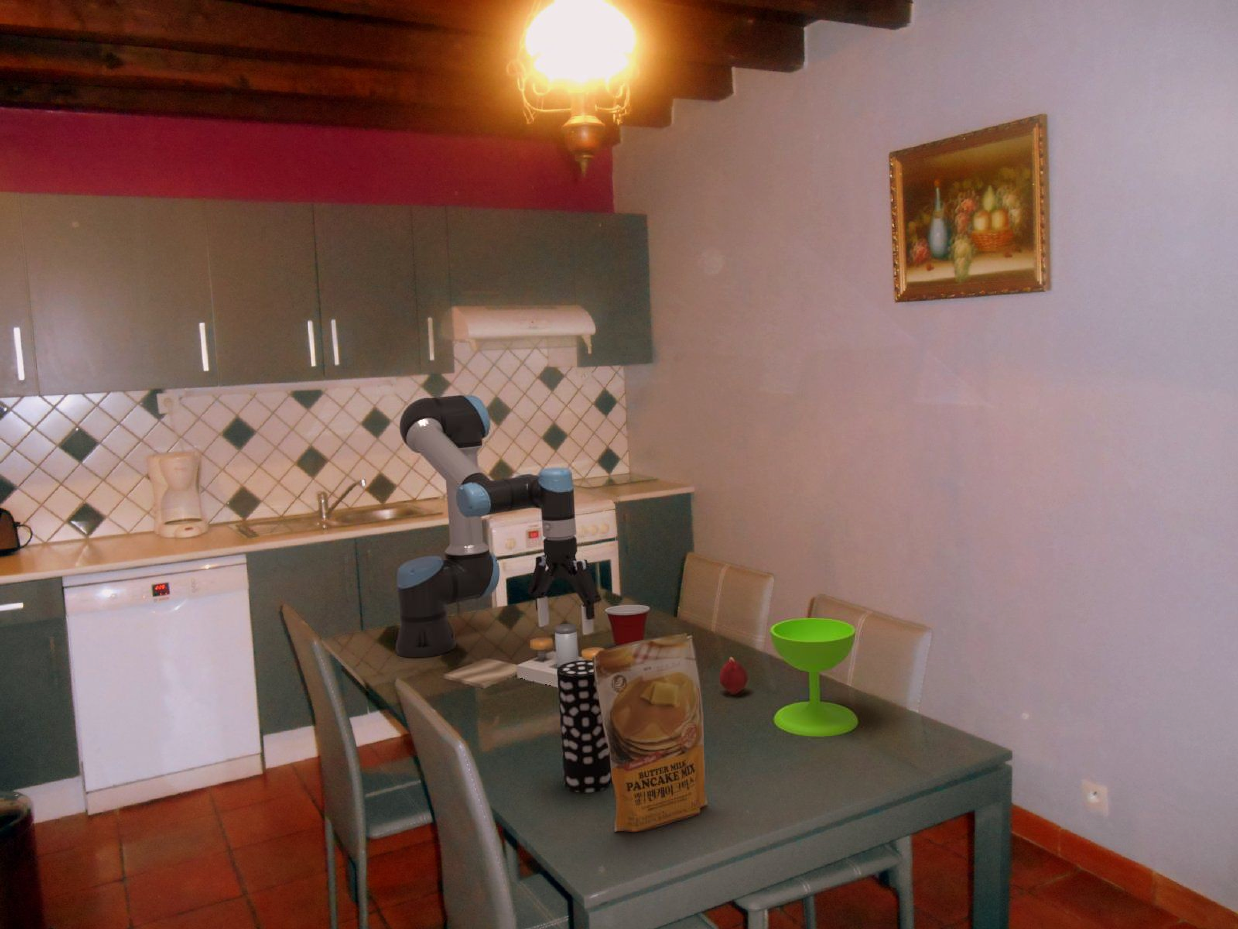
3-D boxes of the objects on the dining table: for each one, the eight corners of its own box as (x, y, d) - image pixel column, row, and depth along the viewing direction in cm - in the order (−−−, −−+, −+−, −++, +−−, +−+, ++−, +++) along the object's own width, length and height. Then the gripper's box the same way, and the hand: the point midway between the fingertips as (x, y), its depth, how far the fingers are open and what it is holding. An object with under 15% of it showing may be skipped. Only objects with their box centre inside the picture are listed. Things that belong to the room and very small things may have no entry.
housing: (517, 678, 215) (516, 665, 215) (553, 663, 224) (552, 651, 224) (586, 694, 202) (585, 680, 202) (620, 678, 211) (620, 665, 211)
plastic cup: (653, 648, 232) (650, 600, 231) (650, 661, 221) (648, 612, 220) (610, 649, 233) (607, 602, 232) (605, 663, 222) (602, 613, 221)
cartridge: (553, 679, 213) (549, 628, 212) (567, 673, 217) (564, 622, 215) (569, 683, 210) (566, 631, 208) (584, 676, 214) (580, 625, 212)
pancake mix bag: (593, 823, 145) (582, 647, 142) (700, 792, 153) (691, 626, 150) (612, 842, 139) (601, 659, 136) (721, 809, 147) (713, 636, 144)
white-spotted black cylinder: (563, 773, 163) (556, 662, 161) (611, 769, 164) (604, 658, 162) (565, 795, 155) (557, 678, 153) (614, 790, 156) (607, 674, 153)
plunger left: (526, 660, 218) (525, 641, 217) (542, 654, 222) (540, 636, 221) (542, 663, 214) (541, 645, 214) (558, 657, 218) (557, 639, 218)
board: (443, 678, 218) (442, 674, 218) (487, 661, 229) (487, 658, 229) (484, 688, 209) (483, 685, 209) (528, 670, 220) (527, 667, 220)
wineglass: (809, 743, 170) (805, 647, 168) (757, 716, 184) (753, 627, 182) (876, 724, 177) (873, 631, 175) (821, 699, 191) (818, 613, 189)
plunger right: (577, 671, 207) (576, 652, 207) (593, 664, 211) (592, 646, 211) (595, 675, 204) (594, 655, 204) (610, 668, 208) (609, 649, 208)
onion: (751, 691, 198) (749, 654, 197) (743, 700, 193) (741, 663, 192) (725, 688, 201) (723, 652, 200) (716, 697, 196) (714, 660, 195)
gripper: (508, 536, 215) (515, 626, 217) (590, 544, 199) (596, 641, 201) (531, 530, 220) (537, 618, 223) (613, 538, 205) (618, 632, 207)
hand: (565, 629), depth 212 cm, fingers open, 13 cm apart
